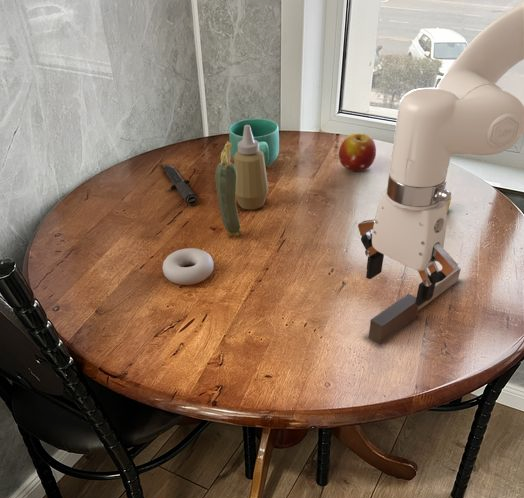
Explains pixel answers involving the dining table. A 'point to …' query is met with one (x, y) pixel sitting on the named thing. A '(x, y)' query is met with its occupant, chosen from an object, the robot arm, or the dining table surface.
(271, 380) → the dining table surface
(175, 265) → the donut
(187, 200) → the knife
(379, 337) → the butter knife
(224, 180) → the vegetable
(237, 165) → the squeeze bottle
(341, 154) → the fruit
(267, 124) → the mug
